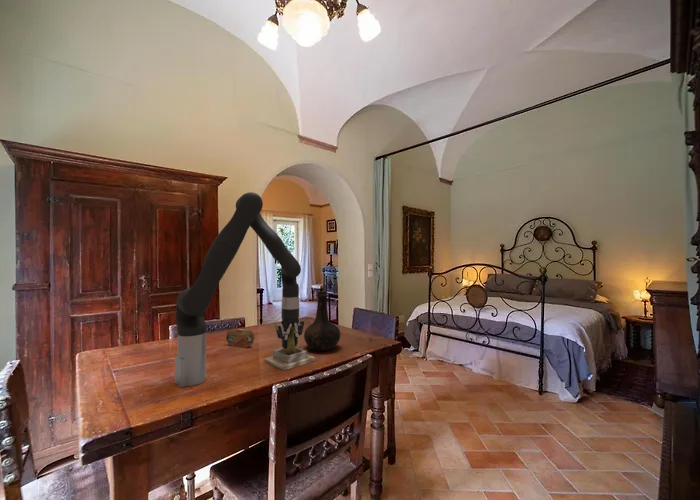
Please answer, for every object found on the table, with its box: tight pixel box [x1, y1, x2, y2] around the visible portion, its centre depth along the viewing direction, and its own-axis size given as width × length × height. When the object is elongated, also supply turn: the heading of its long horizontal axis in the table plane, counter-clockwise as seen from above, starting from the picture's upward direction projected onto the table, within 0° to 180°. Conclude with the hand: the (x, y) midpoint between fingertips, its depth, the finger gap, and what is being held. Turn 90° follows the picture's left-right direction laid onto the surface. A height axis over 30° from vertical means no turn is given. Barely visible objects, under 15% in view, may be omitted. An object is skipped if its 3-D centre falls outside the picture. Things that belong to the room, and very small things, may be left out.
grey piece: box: [264, 346, 316, 371], centre depth 131 cm, size 16×14×4 cm
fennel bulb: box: [284, 327, 297, 355], centre depth 131 cm, size 6×5×12 cm
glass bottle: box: [303, 290, 341, 352], centre depth 150 cm, size 18×18×28 cm
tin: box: [225, 328, 255, 348], centre depth 153 cm, size 15×3×8 cm, turn 73°
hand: (290, 346), depth 131 cm, fingers closed on fennel bulb, 4 cm apart
